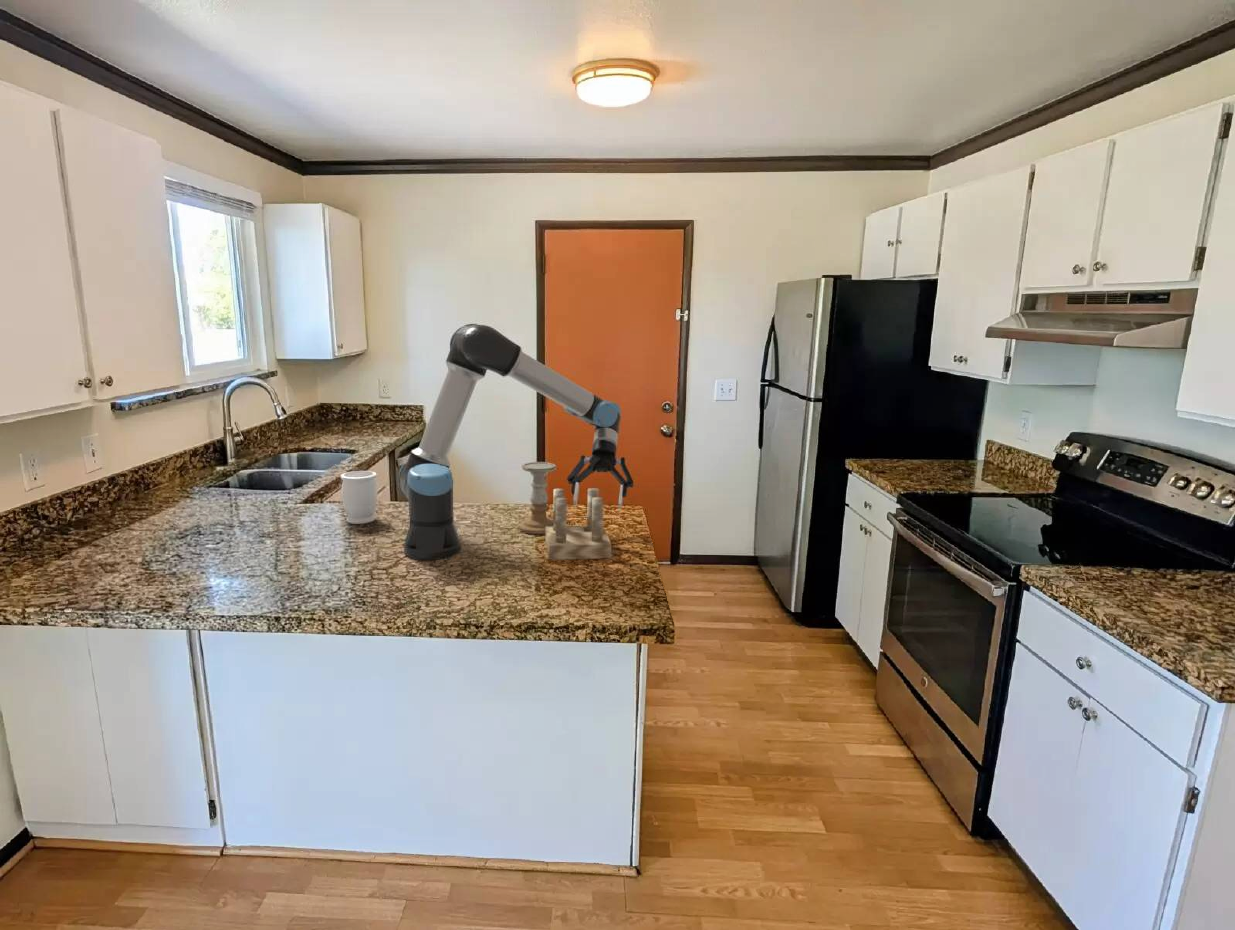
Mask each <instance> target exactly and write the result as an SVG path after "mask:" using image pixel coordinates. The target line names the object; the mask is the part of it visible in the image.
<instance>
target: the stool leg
mask: <svg viewBox="0 0 1235 930" xmlns="http://www.w3.org/2000/svg"><path fill="white" fill-rule="evenodd" d="M599 495H600V489H599V488H593V487H589V488H588V489H587V511H586V512H587V514H586V526H587V532H592V498H594V497H600V496H599Z"/></svg>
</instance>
